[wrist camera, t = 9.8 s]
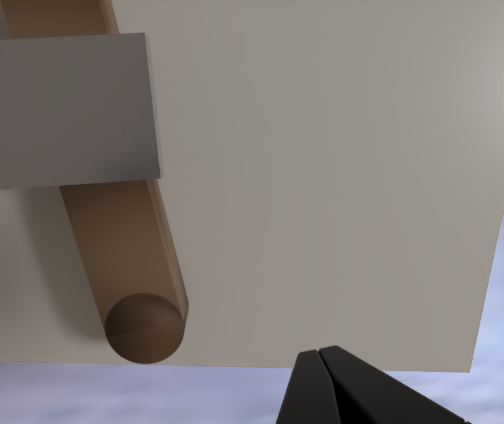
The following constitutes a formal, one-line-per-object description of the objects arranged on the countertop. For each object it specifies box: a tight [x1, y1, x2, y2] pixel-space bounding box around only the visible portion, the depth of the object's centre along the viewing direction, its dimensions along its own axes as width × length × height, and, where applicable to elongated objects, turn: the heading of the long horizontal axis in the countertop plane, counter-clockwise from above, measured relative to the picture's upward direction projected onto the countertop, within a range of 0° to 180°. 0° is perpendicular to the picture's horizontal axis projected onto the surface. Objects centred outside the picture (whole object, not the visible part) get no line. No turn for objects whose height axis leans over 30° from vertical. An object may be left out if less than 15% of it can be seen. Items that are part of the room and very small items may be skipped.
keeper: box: [0, 32, 164, 190], centre depth 14 cm, size 5×8×4 cm
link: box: [0, 0, 189, 364], centre depth 15 cm, size 19×4×2 cm, turn 11°
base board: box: [0, 0, 504, 373], centre depth 17 cm, size 23×25×1 cm
